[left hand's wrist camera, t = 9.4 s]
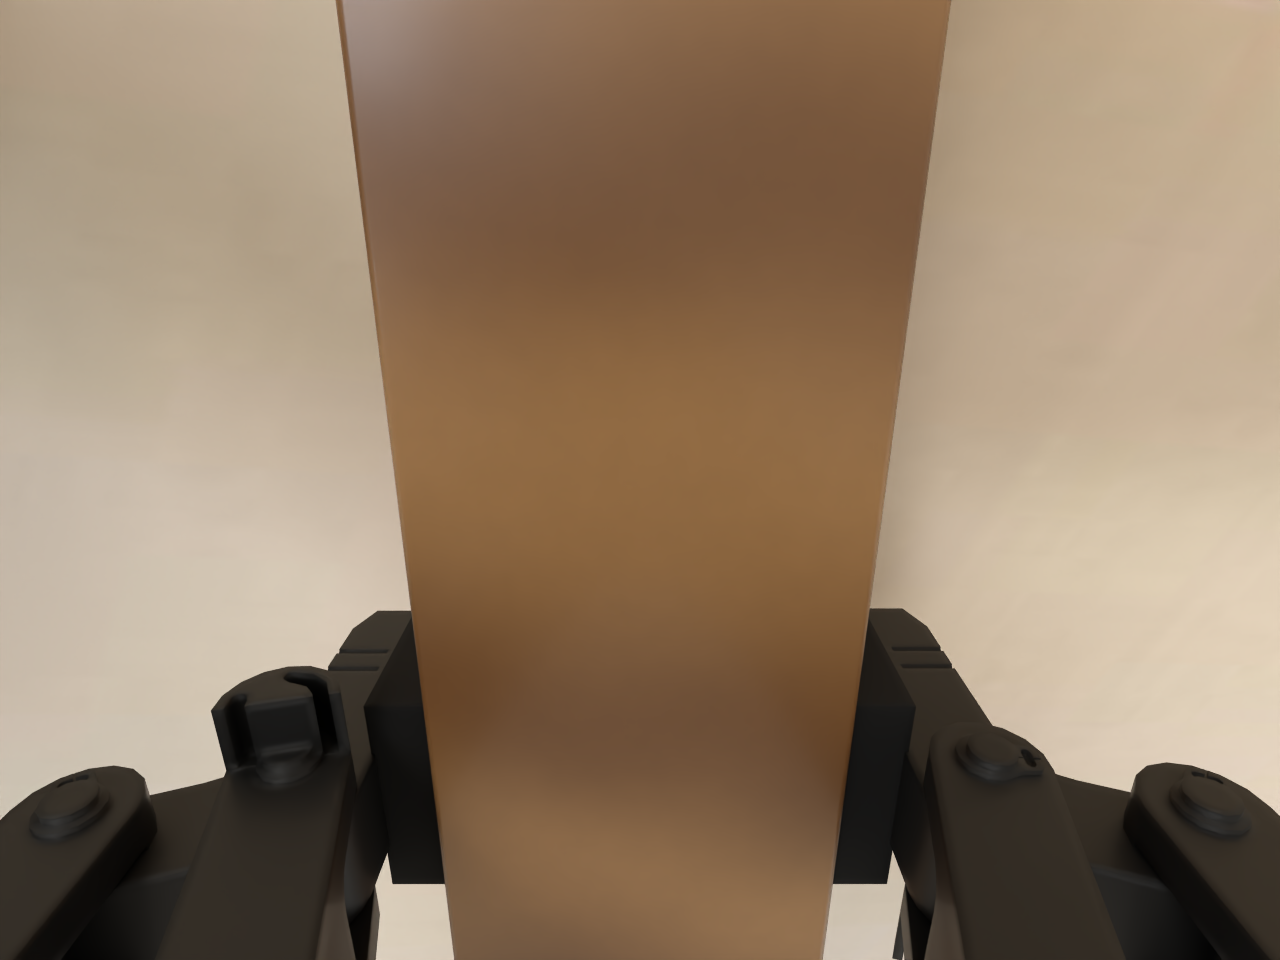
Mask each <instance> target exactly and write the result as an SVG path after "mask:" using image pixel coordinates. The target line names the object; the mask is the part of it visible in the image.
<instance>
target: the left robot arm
mask: <svg viewBox="0 0 1280 960" xmlns="http://www.w3.org/2000/svg"><path fill="white" fill-rule="evenodd" d="M339 650H340V652H339V654H336V655H335V657H334V659H333V660H332V662H331V663H330V665H329V666H328V670H324V669H320V668H316V667H312V666H294V667H285V668H280V669H276V670H272V671H267V672H264V673H261V674H259V675H257V676H254V677H252V678H250V679H248V680H245V681H243V682H241V683H239V684H238V685H237V686H235V687H234V688H232V689H231V690H230V691H228V692H227V693H225V694H224V695H223V696H222V697H221V698H220V700H219V701H218V702H217V703H216V705H215V706H214V707H213V709H212V710H211V713H212V717H213V721H214V724H215V728H216V732H217V736H218V740H219V744H220V748H221V752H222V756H223V759H224V763H225V767H226V773H225V776H224V777H223V778H220V779H216V780H213V781H210V782H206V783H203V784H198V785H194V786H189V787H185V788H181V789H176V790H172V791H167V792H163V793H158V794H154V795H149V792H148V788H147V785H146V782H145V779H144V778H143V777H142V776H141V775H140V774H139V773H138V772H136V771H135V770H134V769H131V768H125V767H119V766H107V767H99V768H92V769H87V770H84V771H81V772H77V773H75V774H71V775H68V776H66V777H63V778H60V779H58V780H56V781H54V782H52V783H50V784H49V785H47V786H45V787H43V788H41V789H39V790H37V791H35V792H33V793H32V794H31V795H29V796H28V797H27V798H26V799H24V800H23V801H22V802H20V803H19V804H18V805H17V806H15V807H14V808H13V809H12V810H10V811H9V812H8V813H7V814H6V815H5V816H4V817H3V818H2V819H1V820H0V960H376V950H377V939H378V928H379V917H380V913H379V906H378V899H377V894H376V888H375V884H376V881H377V879H378V876H379V873H380V871H381V868H382V866H383V863H384V860H385V858H386V855H387V853H388V859H389V865H390V871H391V877H392V883H393V884H445V880H444V872H443V864H442V855H441V847H440V839H439V831H438V823H437V815H436V807H435V799H434V791H433V783H432V775H431V767H430V758H429V750H428V742H427V734H426V726H425V718H424V710H423V702H422V694H421V686H420V678H419V670H418V662H417V653H416V645H415V637H414V629H413V621H412V613H411V611H377V612H375V613H374V614H373V615H371V616H370V617H369V618H367V619H366V620H364V621H363V622H362V623H360V624H359V625H357V626H356V627H355V628H353V630H352V631H351V633H350V634H349V636H348V637H347V639H346V640H345V642H344V643H343V645H342V646H341V648H340V649H339ZM892 850H893V853H894V855H895V858H896V860H897V863H898V866H899V868H900V871H901V874H902V876H903V879H904V881H905V888H904V893H903V899H902V905H901V910H900V916H899V922H898V927H897V933H896V939H895V945H894V951H893V959H898V960H902V958H903V952H904V959H905V960H1280V816H1279V815H1278V814H1277V813H1276V812H1275V811H1274V810H1273V809H1272V808H1271V807H1270V806H1268V805H1267V804H1266V803H1264V802H1263V801H1262V800H1261V799H1259V798H1258V797H1257V796H1255V795H1254V794H1253V793H1252V792H1250V791H1249V790H1248V789H1246V788H1244V787H1242V786H1240V785H1238V784H1236V783H1234V782H1232V781H1231V780H1229V779H1227V778H1225V777H1223V776H1221V775H1219V774H1215V773H1213V772H1210V771H1206V770H1204V769H1200V768H1197V767H1194V766H1190V765H1182V764H1174V763H1161V764H1154V765H1148V766H1146V767H1145V768H1144V769H1143V770H1141V771H1140V772H1139V773H1138V774H1137V775H1136V777H1135V780H1134V783H1133V786H1132V790H1131V792H1126V791H1122V790H1117V789H1113V788H1108V787H1104V786H1100V785H1095V784H1091V783H1086V782H1082V781H1077V780H1074V779H1070V778H1067V777H1064V776H1060V775H1057V774H1055V772H1054V770H1053V768H1052V767H1051V765H1050V764H1049V762H1048V761H1047V759H1046V758H1045V756H1044V754H1043V753H1041V752H1040V751H1039V750H1038V749H1037V748H1035V747H1034V746H1033V745H1032V744H1030V743H1029V742H1028V741H1027V740H1025V739H1023V738H1021V737H1019V736H1017V735H1015V734H1013V733H1011V732H1009V731H1007V730H1005V729H1003V728H999V727H995V726H992V724H991V723H990V721H989V720H988V718H987V717H986V715H985V714H984V712H983V711H982V709H981V708H980V706H979V705H978V703H977V701H976V700H975V698H974V697H973V695H972V694H971V692H970V691H969V689H968V688H967V686H966V685H965V683H964V682H963V680H962V679H961V677H960V676H959V674H958V673H957V671H956V670H955V669H952V664H951V662H950V661H949V659H948V658H947V656H946V655H945V653H944V652H943V651H941V649H940V645H939V644H938V642H937V641H936V639H935V638H934V636H933V635H932V633H931V632H930V630H929V629H928V627H927V626H926V625H924V624H923V623H922V622H920V621H919V620H917V619H916V618H915V617H913V616H912V615H910V614H909V613H908V612H906V611H905V610H903V609H869V617H868V624H867V632H866V639H865V647H864V654H863V662H862V669H861V677H860V684H859V692H858V699H857V706H856V714H855V721H854V729H853V736H852V744H851V751H850V759H849V766H848V774H847V781H846V789H845V796H844V803H843V811H842V818H841V826H840V833H839V841H838V848H837V856H836V863H835V871H834V878H833V884H887V880H888V874H889V868H890V862H891V856H892Z"/></svg>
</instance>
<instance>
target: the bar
mask: <svg viewBox="0 0 1280 960" xmlns="http://www.w3.org/2000/svg"><path fill="white" fill-rule="evenodd" d="M950 5H951V0H336V7H337V15H338V23H339V31H340V39H341V47H342V55H343V64H344V72H345V80H346V88H347V96H348V104H349V112H350V120H351V128H352V136H353V144H354V152H355V161H356V169H357V177H358V185H359V193H360V201H361V209H362V217H363V225H364V233H365V241H366V249H367V257H368V266H369V274H370V282H371V290H372V298H373V306H374V314H375V322H376V330H377V338H378V346H379V354H380V363H381V371H382V379H383V387H384V395H385V403H386V411H387V419H388V427H389V435H390V443H391V451H392V460H393V468H394V476H395V484H396V492H397V500H398V508H399V516H400V524H401V532H402V540H403V548H404V556H405V565H406V573H407V581H408V589H409V597H410V605H411V613H412V621H413V629H414V637H415V645H416V653H417V662H418V670H419V678H420V686H421V694H422V702H423V710H424V718H425V726H426V734H427V742H428V750H429V758H430V767H431V775H432V783H433V791H434V799H435V807H436V815H437V823H438V831H439V839H440V847H441V855H442V864H443V872H444V880H445V888H446V896H447V904H448V912H449V920H450V928H451V936H452V944H453V952H454V960H823V953H824V945H825V938H826V930H827V923H828V915H829V908H830V901H831V893H832V886H833V878H834V871H835V863H836V856H837V848H838V841H839V833H840V826H841V818H842V811H843V803H844V796H845V789H846V781H847V774H848V766H849V759H850V751H851V744H852V736H853V729H854V721H855V714H856V706H857V699H858V692H859V684H860V677H861V669H862V662H863V654H864V647H865V639H866V632H867V624H868V617H869V609H870V602H871V594H872V587H873V580H874V572H875V565H876V557H877V550H878V542H879V535H880V527H881V520H882V512H883V505H884V497H885V490H886V482H887V475H888V468H889V460H890V453H891V445H892V438H893V430H894V423H895V415H896V408H897V400H898V393H899V385H900V378H901V370H902V363H903V356H904V348H905V341H906V333H907V326H908V318H909V311H910V303H911V296H912V288H913V281H914V273H915V266H916V258H917V251H918V244H919V236H920V229H921V221H922V214H923V206H924V199H925V191H926V184H927V176H928V169H929V161H930V154H931V146H932V139H933V132H934V124H935V117H936V109H937V102H938V94H939V87H940V79H941V72H942V64H943V57H944V49H945V42H946V34H947V27H948V20H949V12H950Z"/></svg>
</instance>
